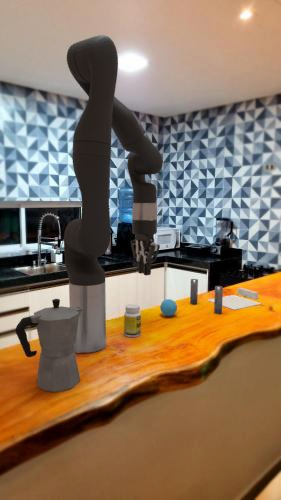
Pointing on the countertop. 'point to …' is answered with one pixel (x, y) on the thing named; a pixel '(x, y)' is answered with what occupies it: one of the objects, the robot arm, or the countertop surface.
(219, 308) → the post right
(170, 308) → the ball
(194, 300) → the post left
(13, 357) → the countertop surface
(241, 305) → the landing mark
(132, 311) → the supplement bottle
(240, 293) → the stopper wall
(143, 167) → the robot arm
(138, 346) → the countertop surface
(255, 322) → the countertop surface
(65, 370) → the coffeepot
